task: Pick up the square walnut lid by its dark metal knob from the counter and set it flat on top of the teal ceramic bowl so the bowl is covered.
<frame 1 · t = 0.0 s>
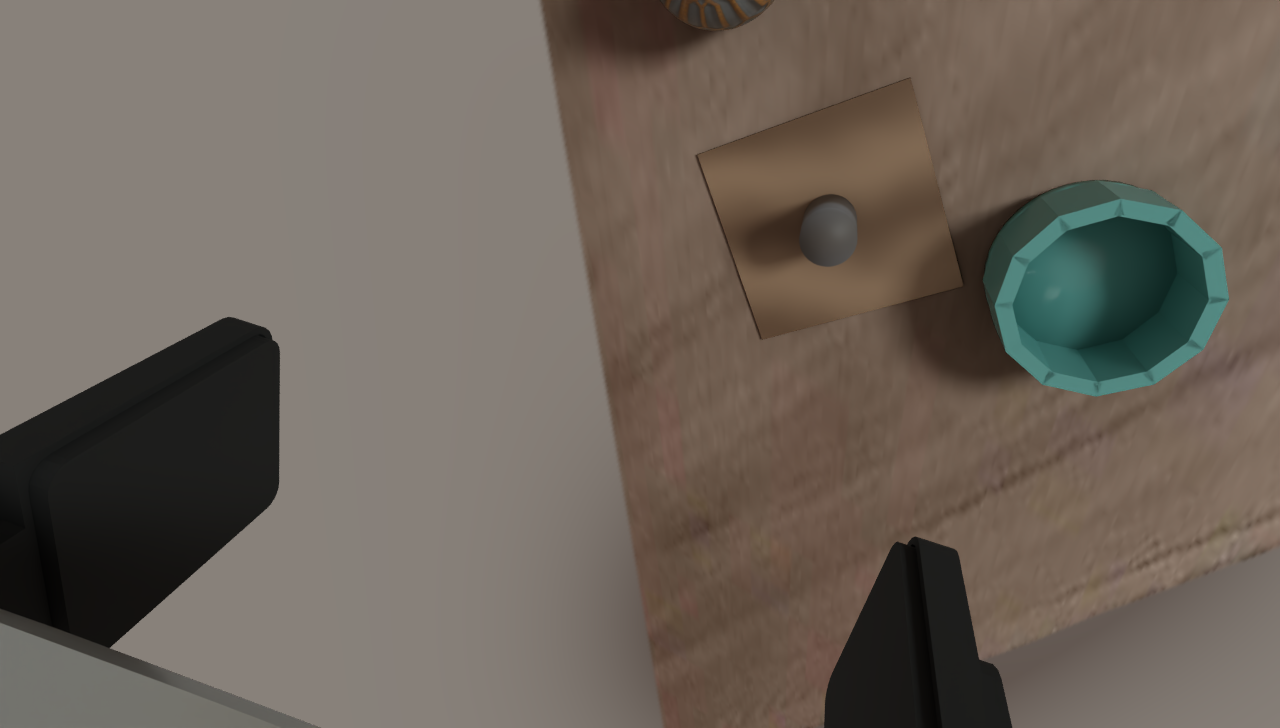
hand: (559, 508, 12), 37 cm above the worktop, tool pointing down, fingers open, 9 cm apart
lid: (830, 216, 46), on the worktop
bowl: (1081, 271, 44), on the worktop
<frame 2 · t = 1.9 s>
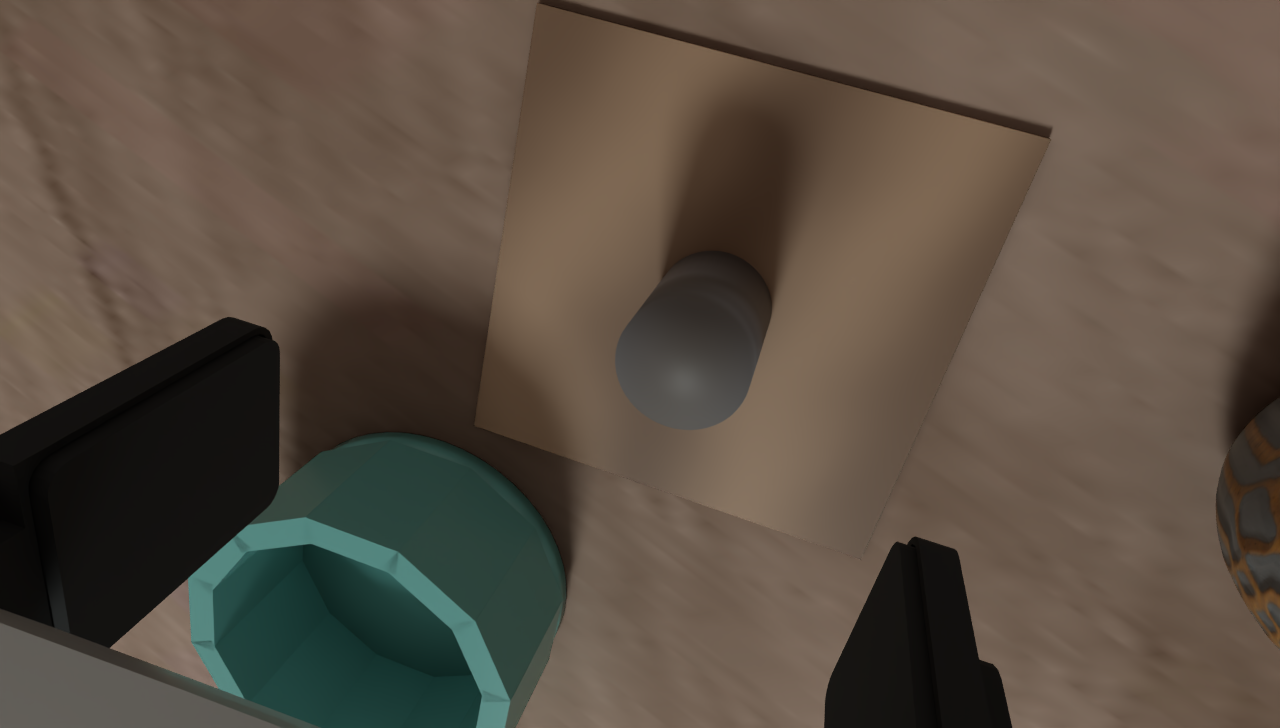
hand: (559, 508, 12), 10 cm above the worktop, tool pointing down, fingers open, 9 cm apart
lid: (718, 296, 21), on the worktop
bowl: (427, 562, 27), on the worktop
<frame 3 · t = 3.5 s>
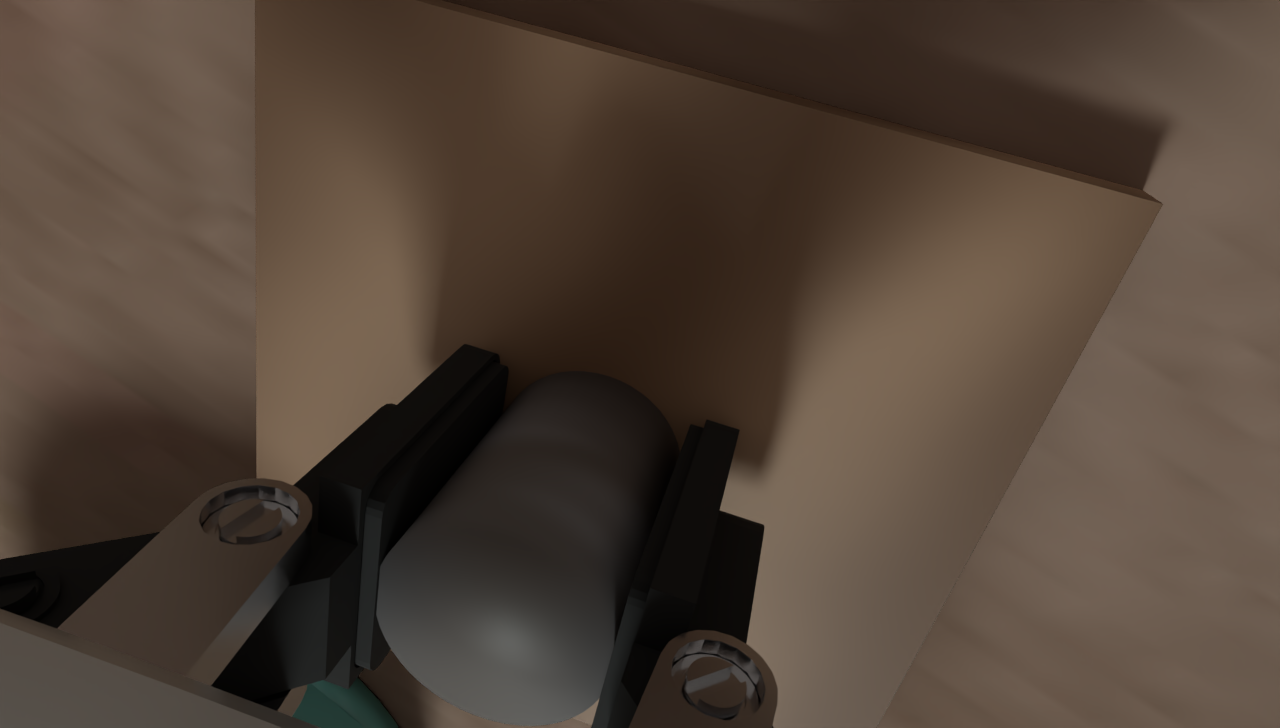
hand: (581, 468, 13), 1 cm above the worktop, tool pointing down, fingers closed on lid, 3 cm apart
lid: (602, 431, 14), on the worktop, touching gripper
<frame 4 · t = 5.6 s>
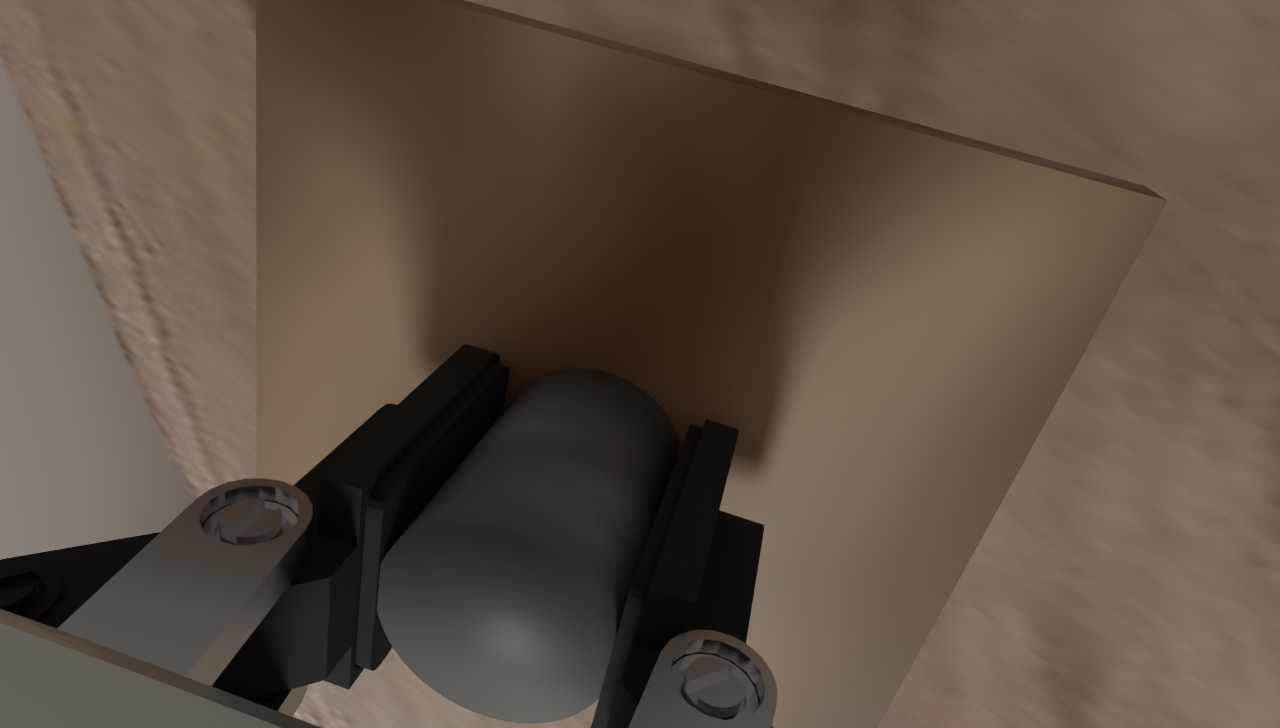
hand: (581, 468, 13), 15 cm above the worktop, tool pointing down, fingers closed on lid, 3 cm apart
lid: (604, 428, 14), point 14 cm above the worktop, touching gripper
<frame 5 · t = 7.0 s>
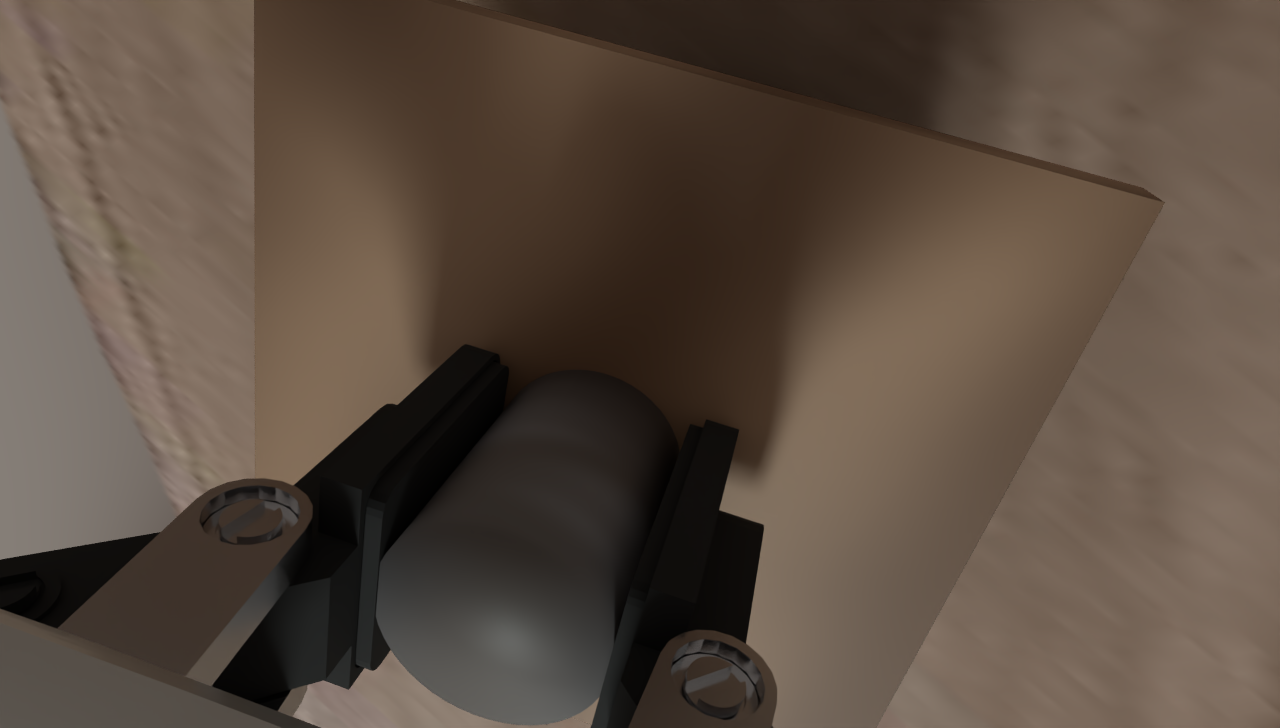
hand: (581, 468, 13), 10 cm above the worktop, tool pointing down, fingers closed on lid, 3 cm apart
lid: (602, 430, 14), point 9 cm above the worktop, touching gripper
when the fingers open (7 cm above the worktop, at t = 8.1 s): lid drops 1 cm, resting on bowl.
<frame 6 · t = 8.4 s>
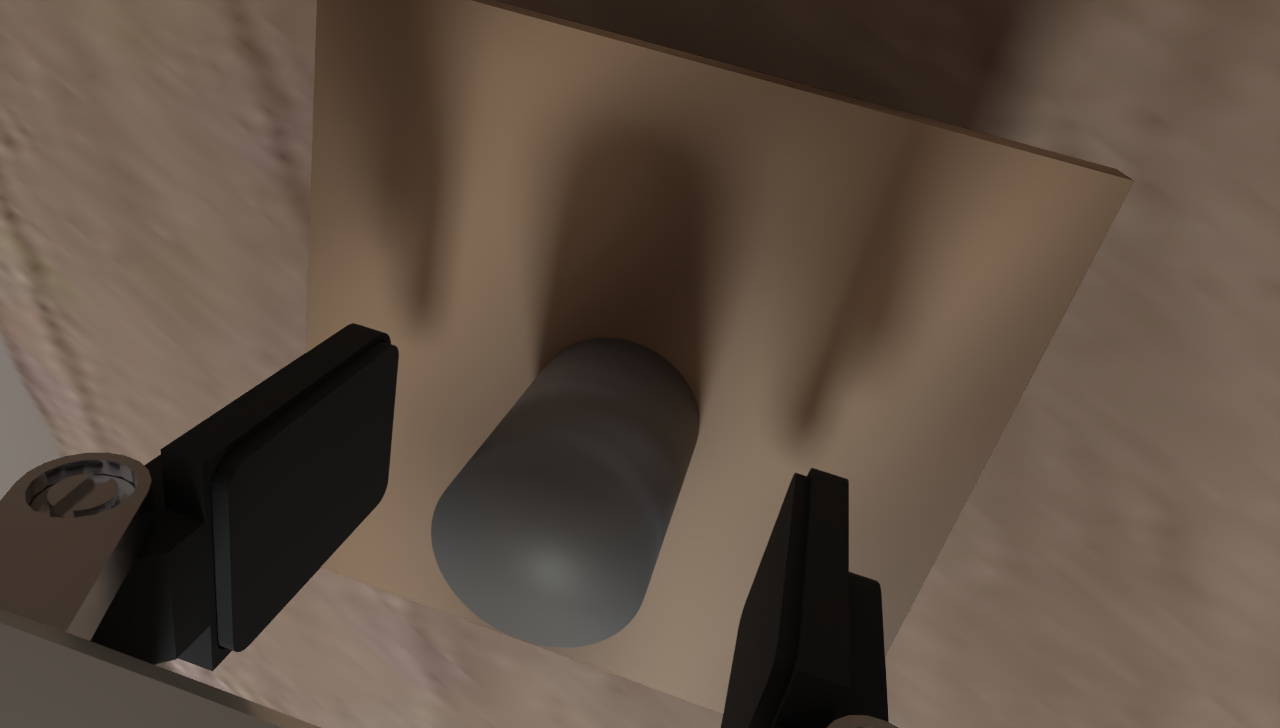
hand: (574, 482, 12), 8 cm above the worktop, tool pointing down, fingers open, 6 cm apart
lid: (626, 396, 15), point 5 cm above the worktop, touching bowl
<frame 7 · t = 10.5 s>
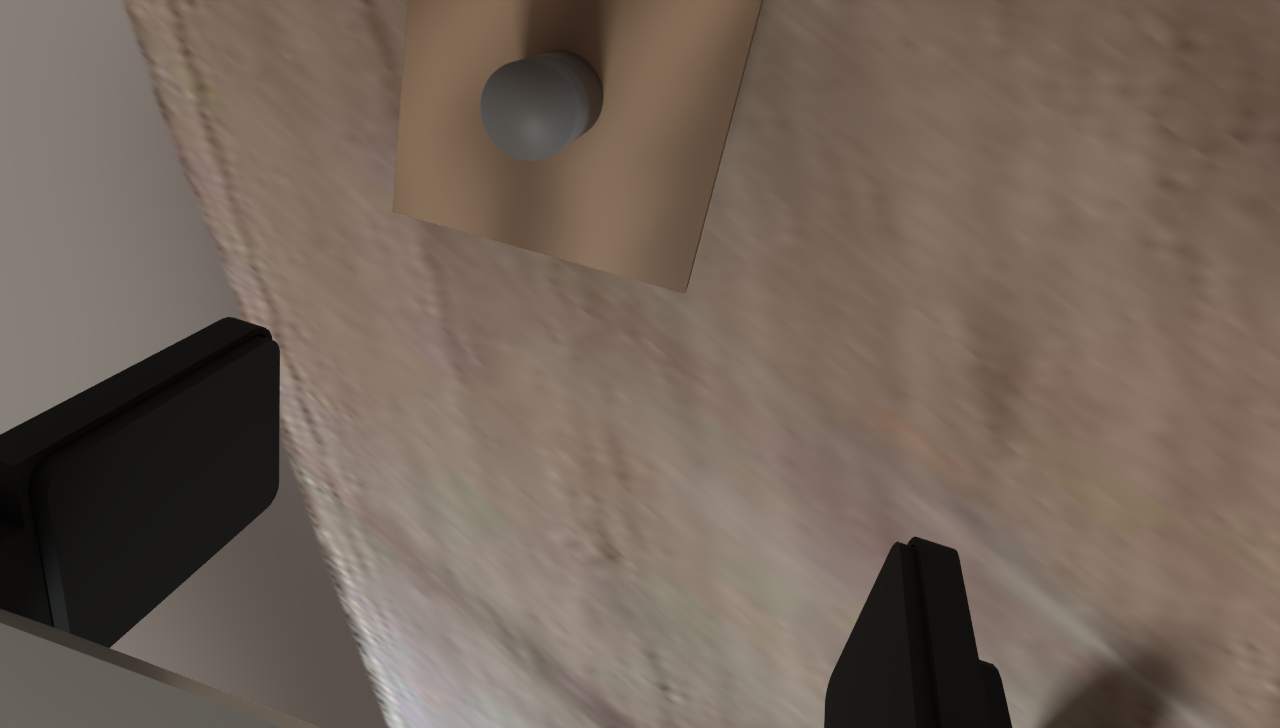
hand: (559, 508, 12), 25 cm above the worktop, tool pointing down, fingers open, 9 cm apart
lid: (568, 92, 29), point 5 cm above the worktop, touching bowl
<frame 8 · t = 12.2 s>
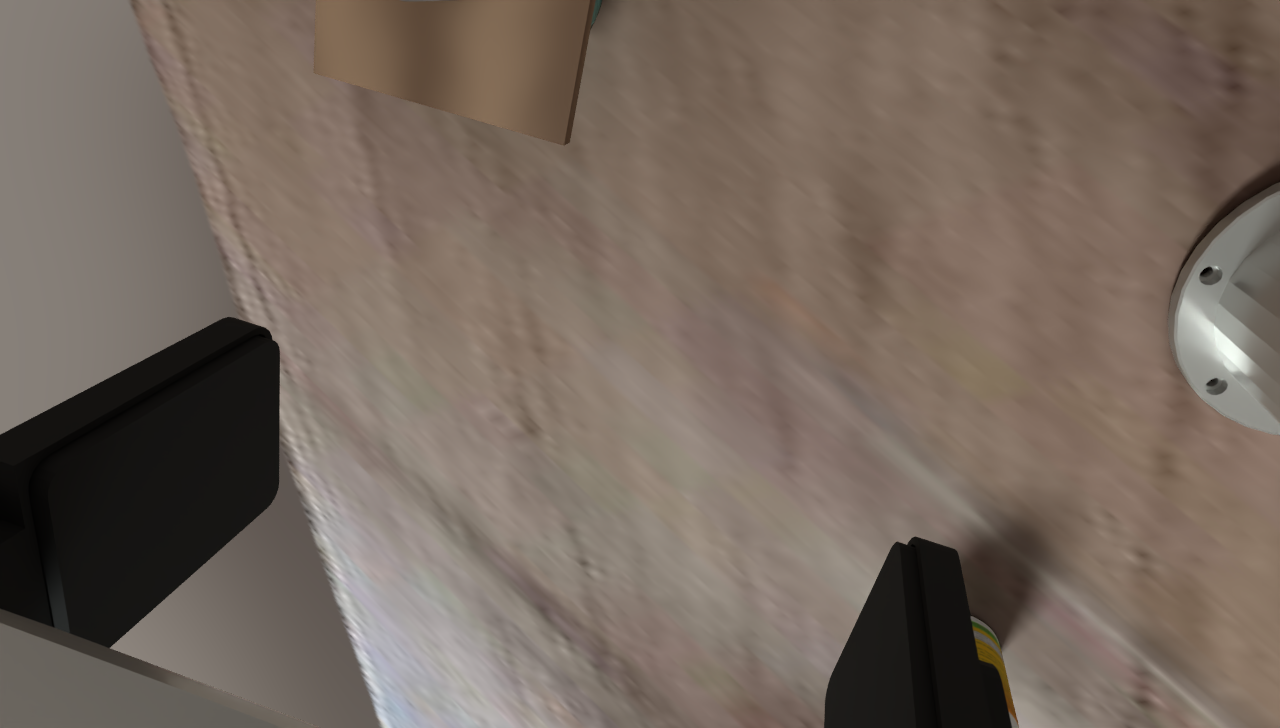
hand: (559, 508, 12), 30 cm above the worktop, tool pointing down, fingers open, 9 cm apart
supplement bottle: (950, 641, 48), on the worktop
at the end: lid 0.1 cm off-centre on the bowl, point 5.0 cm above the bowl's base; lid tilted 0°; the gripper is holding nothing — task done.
